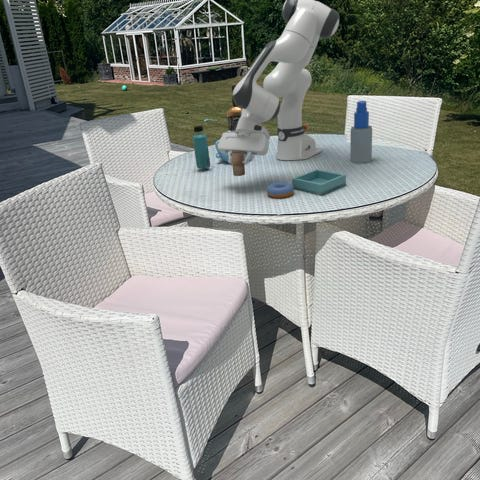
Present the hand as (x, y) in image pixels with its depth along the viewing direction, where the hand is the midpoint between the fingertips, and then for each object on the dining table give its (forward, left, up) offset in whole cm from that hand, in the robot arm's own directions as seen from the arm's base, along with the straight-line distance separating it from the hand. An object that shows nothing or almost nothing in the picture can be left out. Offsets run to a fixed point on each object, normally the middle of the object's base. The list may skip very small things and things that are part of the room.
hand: (237, 163), depth 168 cm
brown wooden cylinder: (-1, 0, -4) cm, 4 cm away
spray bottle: (-58, +14, -11) cm, 60 cm away
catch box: (-21, +22, -11) cm, 32 cm away
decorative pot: (-30, -38, -11) cm, 50 cm away
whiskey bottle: (-48, -55, -11) cm, 74 cm away
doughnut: (-7, +15, -12) cm, 20 cm away
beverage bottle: (-11, -38, -11) cm, 42 cm away
